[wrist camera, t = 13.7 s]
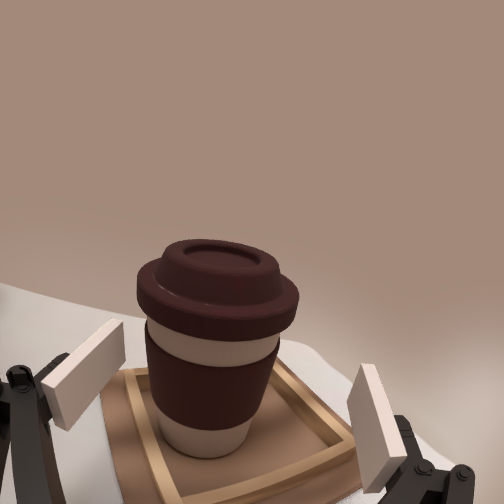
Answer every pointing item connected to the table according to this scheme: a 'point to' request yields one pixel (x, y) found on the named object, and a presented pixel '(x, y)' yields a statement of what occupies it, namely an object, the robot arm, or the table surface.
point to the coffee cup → (212, 339)
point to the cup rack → (240, 460)
